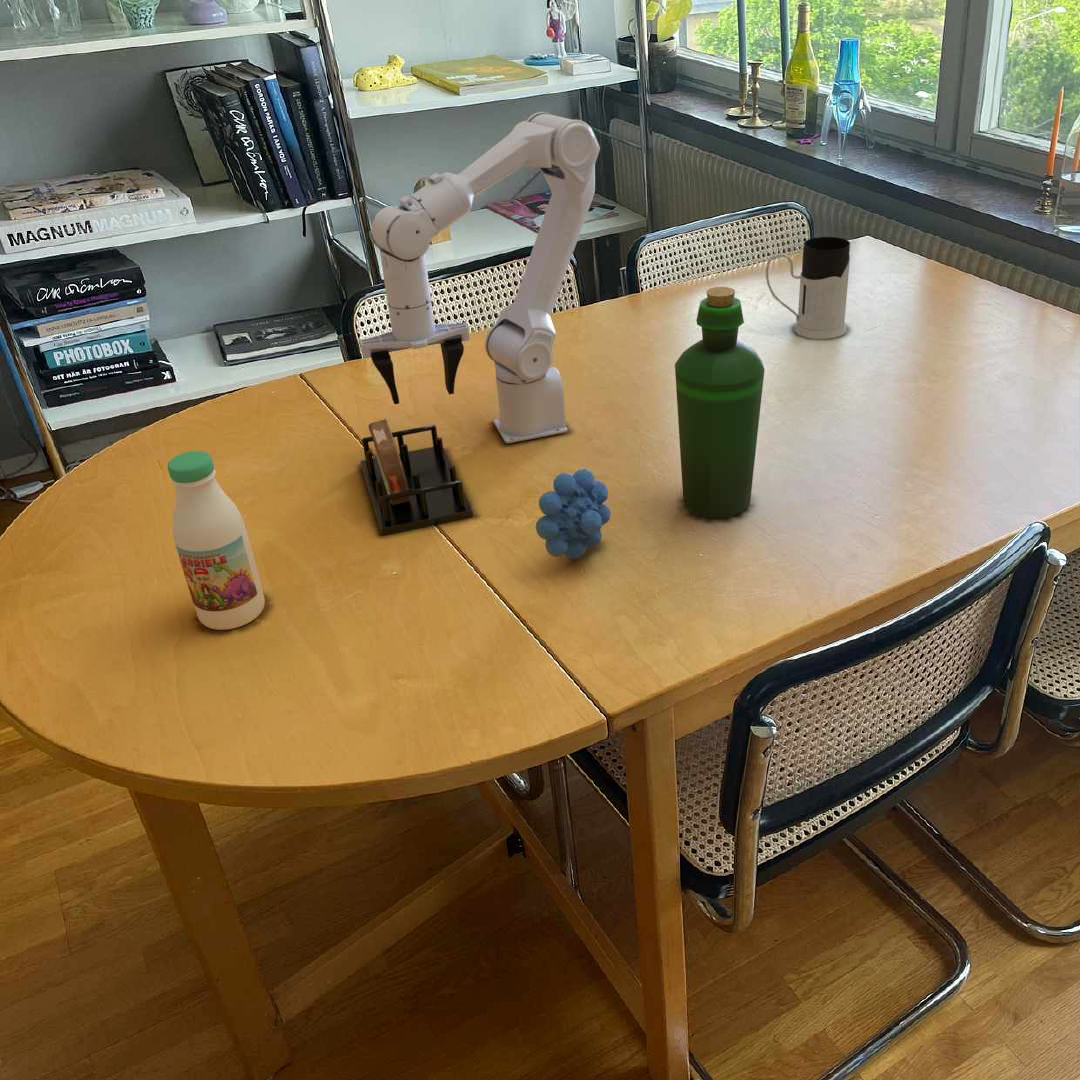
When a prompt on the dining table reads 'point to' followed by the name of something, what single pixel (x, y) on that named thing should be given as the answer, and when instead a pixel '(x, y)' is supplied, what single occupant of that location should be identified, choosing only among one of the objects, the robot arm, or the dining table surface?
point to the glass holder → (821, 287)
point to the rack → (417, 487)
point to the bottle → (718, 410)
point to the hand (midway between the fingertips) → (423, 396)
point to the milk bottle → (213, 546)
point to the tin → (389, 460)
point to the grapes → (573, 514)
